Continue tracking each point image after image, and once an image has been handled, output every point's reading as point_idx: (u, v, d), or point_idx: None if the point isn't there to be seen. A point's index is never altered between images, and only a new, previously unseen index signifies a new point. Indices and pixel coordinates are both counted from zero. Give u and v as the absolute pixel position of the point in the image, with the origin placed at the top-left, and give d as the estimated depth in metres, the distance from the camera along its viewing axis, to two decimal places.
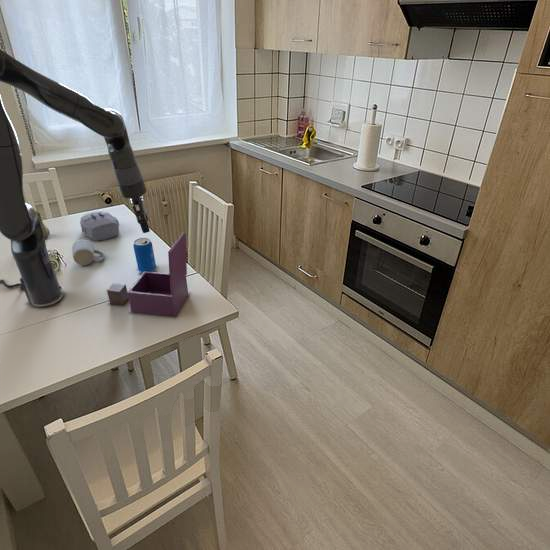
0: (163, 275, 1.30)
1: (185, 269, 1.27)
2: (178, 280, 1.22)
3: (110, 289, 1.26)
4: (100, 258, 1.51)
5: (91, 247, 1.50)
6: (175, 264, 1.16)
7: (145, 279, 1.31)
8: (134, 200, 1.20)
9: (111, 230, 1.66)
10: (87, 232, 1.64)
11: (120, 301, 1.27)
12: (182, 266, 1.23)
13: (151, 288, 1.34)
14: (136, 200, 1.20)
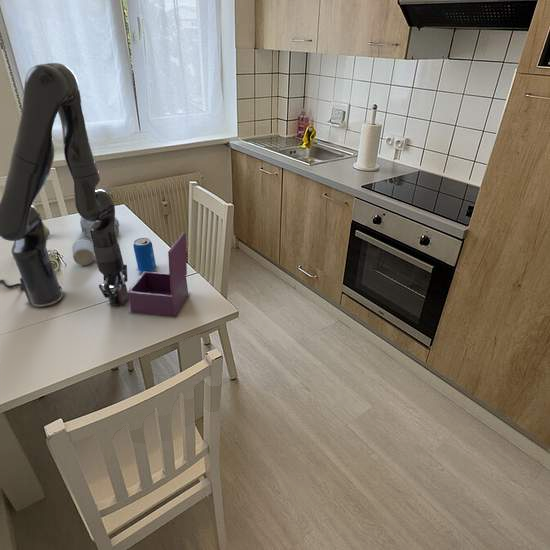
0: (163, 275, 1.30)
1: (185, 269, 1.27)
2: (178, 280, 1.22)
3: None
4: None
5: (91, 247, 1.50)
6: (175, 264, 1.16)
7: (145, 279, 1.31)
8: (104, 276, 1.21)
9: None
10: (87, 232, 1.64)
11: (120, 301, 1.27)
12: (182, 266, 1.23)
13: (151, 288, 1.34)
14: (106, 276, 1.21)
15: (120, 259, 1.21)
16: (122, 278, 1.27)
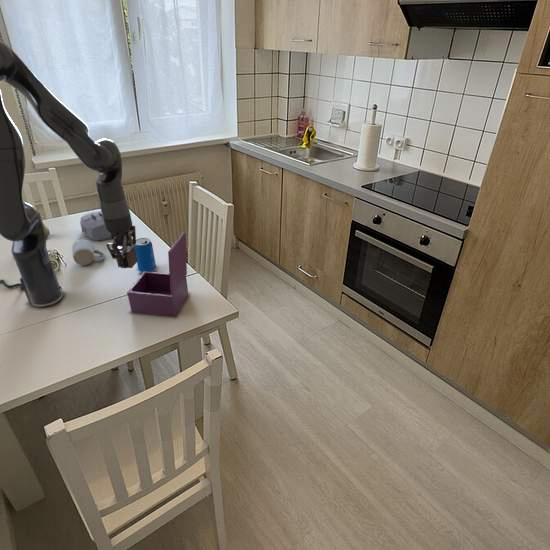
0: (163, 275, 1.30)
1: (185, 269, 1.27)
2: (178, 280, 1.22)
3: None
4: (100, 258, 1.51)
5: (91, 247, 1.50)
6: (175, 264, 1.16)
7: (145, 279, 1.31)
8: (112, 234, 1.13)
9: None
10: (87, 232, 1.64)
11: (129, 264, 1.20)
12: (182, 266, 1.23)
13: (151, 288, 1.34)
14: (114, 235, 1.13)
15: (128, 216, 1.13)
16: (130, 239, 1.19)
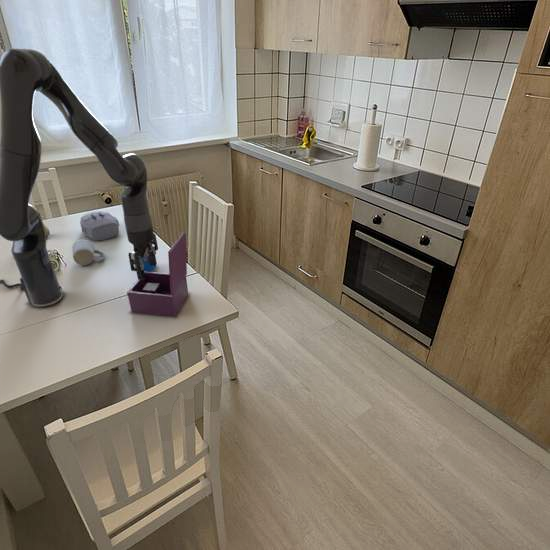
0: (163, 275, 1.30)
1: (185, 269, 1.27)
2: (178, 280, 1.22)
3: (145, 288, 1.25)
4: (100, 258, 1.51)
5: (91, 247, 1.50)
6: (175, 264, 1.16)
7: (145, 279, 1.31)
8: (135, 247, 1.14)
9: (111, 230, 1.66)
10: (87, 232, 1.64)
11: None
12: (182, 266, 1.23)
13: None
14: (137, 247, 1.14)
15: (151, 229, 1.15)
16: (152, 249, 1.22)
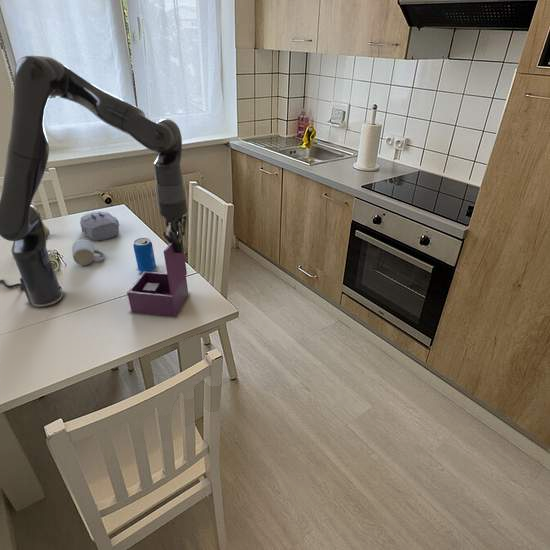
0: (163, 275, 1.30)
1: (185, 269, 1.27)
2: (178, 280, 1.22)
3: (145, 288, 1.25)
4: (100, 258, 1.51)
5: (91, 247, 1.50)
6: (172, 264, 1.16)
7: (145, 279, 1.31)
8: (167, 220, 1.08)
9: (111, 230, 1.66)
10: (87, 232, 1.64)
11: None
12: (181, 266, 1.23)
13: None
14: (169, 221, 1.08)
15: (185, 202, 1.08)
16: (182, 227, 1.14)
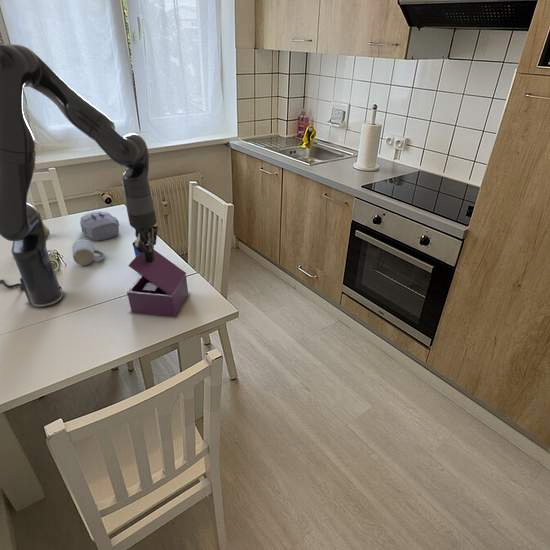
0: None
1: (179, 270, 1.28)
2: (172, 281, 1.22)
3: (145, 288, 1.25)
4: (100, 258, 1.51)
5: (91, 247, 1.50)
6: (150, 271, 1.19)
7: (145, 279, 1.31)
8: (136, 231, 1.11)
9: (111, 230, 1.66)
10: (87, 232, 1.64)
11: None
12: (168, 269, 1.25)
13: None
14: (138, 231, 1.11)
15: (153, 213, 1.12)
16: (153, 237, 1.17)
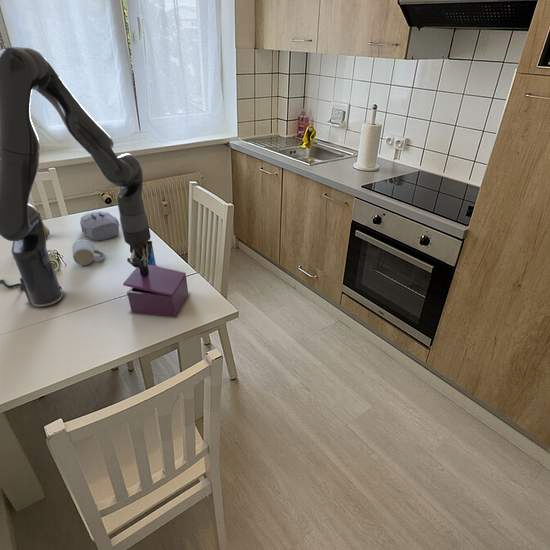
0: None
1: (177, 272, 1.28)
2: (171, 283, 1.23)
3: None
4: (100, 258, 1.51)
5: (91, 247, 1.50)
6: (146, 282, 1.22)
7: None
8: (131, 247, 1.15)
9: (111, 230, 1.66)
10: (87, 232, 1.64)
11: None
12: (166, 275, 1.26)
13: None
14: (133, 247, 1.15)
15: (147, 229, 1.15)
16: (147, 252, 1.21)
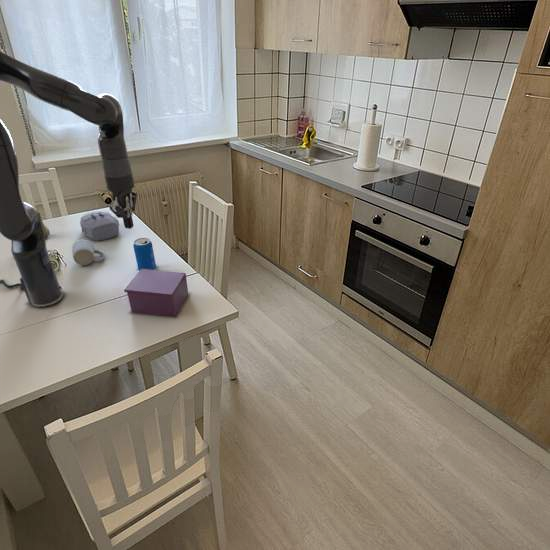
0: None
1: (177, 273, 1.29)
2: (170, 284, 1.23)
3: None
4: (100, 258, 1.51)
5: (91, 247, 1.50)
6: (146, 286, 1.22)
7: None
8: (114, 194, 1.11)
9: (111, 230, 1.66)
10: (87, 232, 1.64)
11: None
12: (166, 277, 1.27)
13: None
14: (116, 195, 1.11)
15: (131, 176, 1.11)
16: (131, 202, 1.17)
